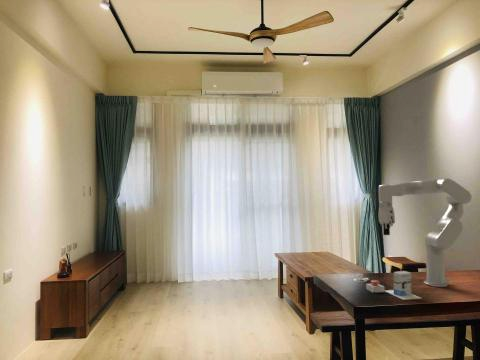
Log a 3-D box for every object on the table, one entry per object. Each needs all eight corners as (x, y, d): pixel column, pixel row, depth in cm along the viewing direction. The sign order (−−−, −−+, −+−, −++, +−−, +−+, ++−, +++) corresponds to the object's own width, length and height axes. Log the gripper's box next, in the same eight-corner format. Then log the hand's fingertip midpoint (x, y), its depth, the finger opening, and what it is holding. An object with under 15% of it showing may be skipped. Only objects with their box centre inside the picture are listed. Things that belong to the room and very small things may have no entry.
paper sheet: (401, 290, 201) (401, 289, 201) (421, 298, 186) (421, 298, 186) (384, 291, 199) (384, 290, 199) (403, 299, 183) (403, 299, 183)
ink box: (400, 296, 188) (400, 274, 189) (393, 293, 193) (393, 272, 193) (411, 294, 192) (411, 272, 192) (404, 291, 196) (404, 270, 197)
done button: (376, 288, 203) (376, 280, 203) (380, 290, 198) (380, 282, 198) (369, 288, 202) (369, 280, 202) (373, 291, 197) (373, 282, 197)
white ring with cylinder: (370, 281, 222) (370, 274, 222) (365, 283, 216) (365, 276, 216) (356, 278, 228) (356, 272, 228) (351, 281, 222) (351, 274, 222)
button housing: (377, 288, 204) (377, 283, 204) (384, 291, 197) (384, 286, 197) (366, 289, 203) (366, 283, 203) (373, 292, 196) (373, 287, 196)
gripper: (399, 205, 210) (400, 236, 209) (383, 204, 224) (384, 233, 224) (388, 205, 208) (389, 236, 207) (372, 204, 222) (373, 233, 222)
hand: (386, 234), depth 215 cm, fingers closed
